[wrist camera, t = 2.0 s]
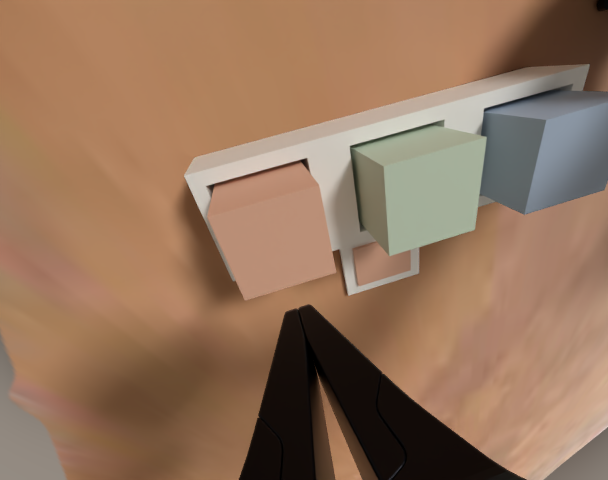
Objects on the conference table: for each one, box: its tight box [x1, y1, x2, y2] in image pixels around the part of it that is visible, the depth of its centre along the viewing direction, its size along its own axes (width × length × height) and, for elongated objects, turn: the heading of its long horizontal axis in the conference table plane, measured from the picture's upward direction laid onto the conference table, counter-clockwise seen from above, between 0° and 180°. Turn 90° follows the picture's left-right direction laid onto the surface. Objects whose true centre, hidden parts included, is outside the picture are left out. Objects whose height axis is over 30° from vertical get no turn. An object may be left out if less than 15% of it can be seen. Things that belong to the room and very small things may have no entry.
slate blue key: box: [480, 90, 608, 215], centre depth 16 cm, size 5×5×5 cm
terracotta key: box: [207, 160, 336, 301], centre depth 15 cm, size 5×5×5 cm
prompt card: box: [339, 239, 419, 296], centre depth 24 cm, size 7×6×1 cm
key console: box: [184, 64, 590, 281], centre depth 18 cm, size 23×7×4 cm, turn 102°
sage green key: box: [350, 124, 487, 256], centre depth 16 cm, size 5×5×5 cm
